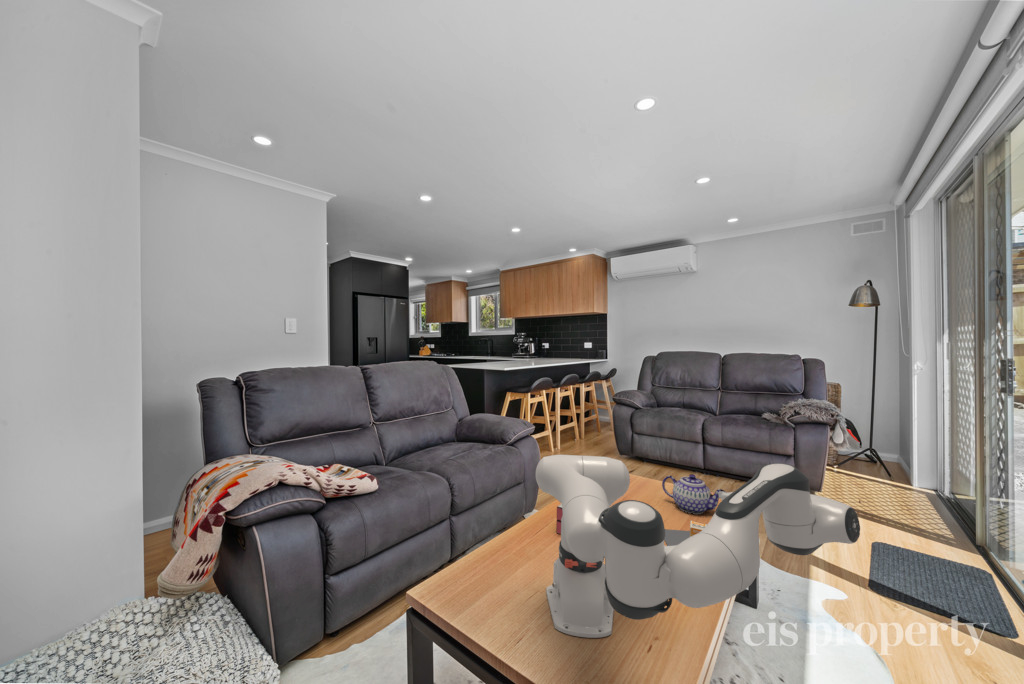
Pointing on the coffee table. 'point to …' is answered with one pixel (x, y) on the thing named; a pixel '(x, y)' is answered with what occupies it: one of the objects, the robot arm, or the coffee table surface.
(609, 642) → the coffee table surface
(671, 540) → the mat
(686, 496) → the teapot
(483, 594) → the coffee table surface
